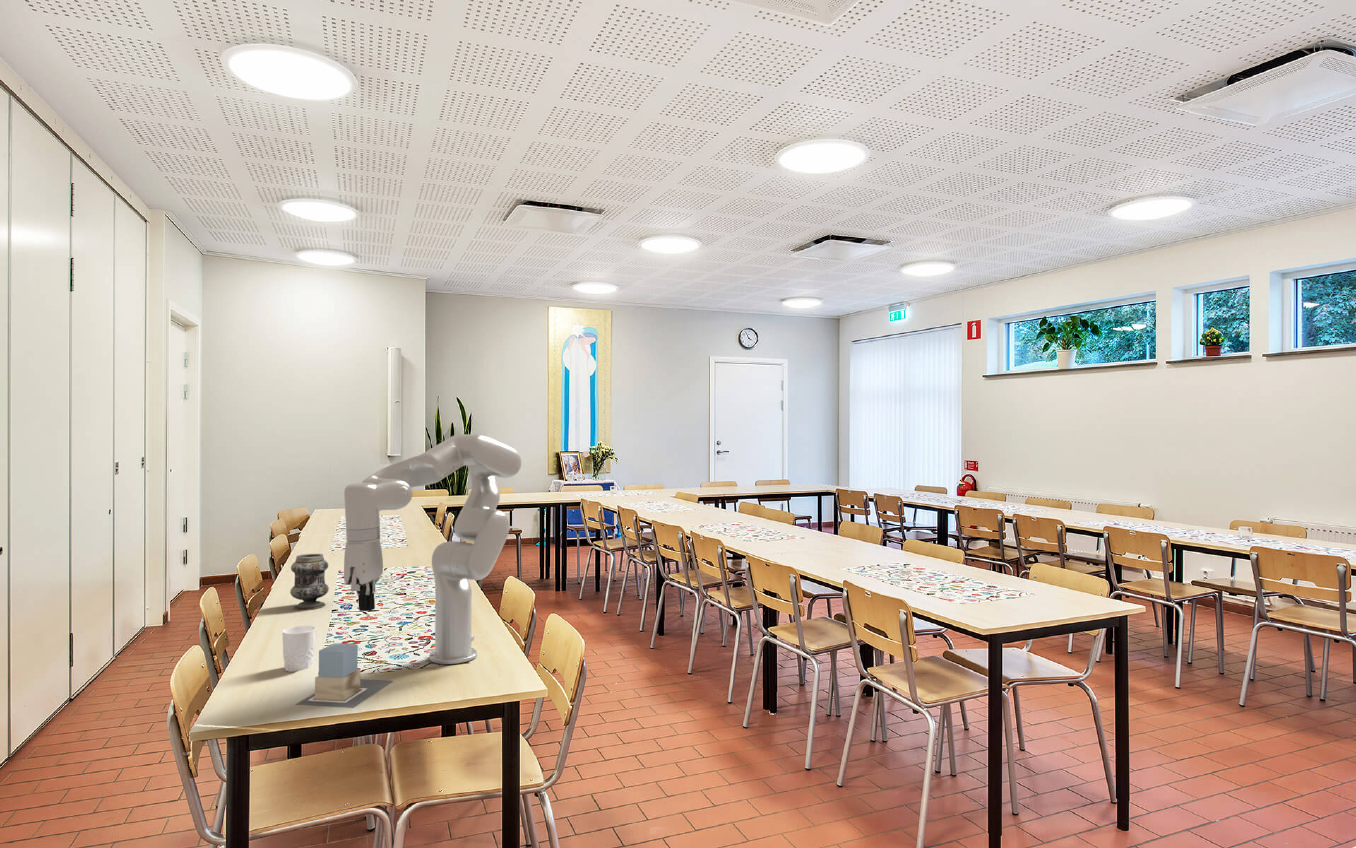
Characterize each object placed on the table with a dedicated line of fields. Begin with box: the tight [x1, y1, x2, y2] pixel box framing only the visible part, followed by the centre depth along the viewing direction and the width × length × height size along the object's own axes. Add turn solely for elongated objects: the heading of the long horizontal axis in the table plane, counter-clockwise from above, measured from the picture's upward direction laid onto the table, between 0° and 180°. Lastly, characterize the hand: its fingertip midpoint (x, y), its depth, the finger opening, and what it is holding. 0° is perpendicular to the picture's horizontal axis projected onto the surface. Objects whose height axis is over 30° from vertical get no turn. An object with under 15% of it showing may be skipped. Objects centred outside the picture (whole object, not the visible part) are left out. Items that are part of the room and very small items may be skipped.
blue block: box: [318, 642, 359, 678], centre depth 176 cm, size 6×6×6 cm
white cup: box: [281, 625, 317, 673], centre depth 197 cm, size 8×8×10 cm
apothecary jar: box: [289, 553, 330, 611], centre depth 263 cm, size 12×12×18 cm
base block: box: [314, 668, 361, 701], centre depth 176 cm, size 7×7×5 cm
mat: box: [295, 678, 394, 709], centre depth 178 cm, size 18×14×1 cm
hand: (366, 609), depth 182 cm, fingers closed
